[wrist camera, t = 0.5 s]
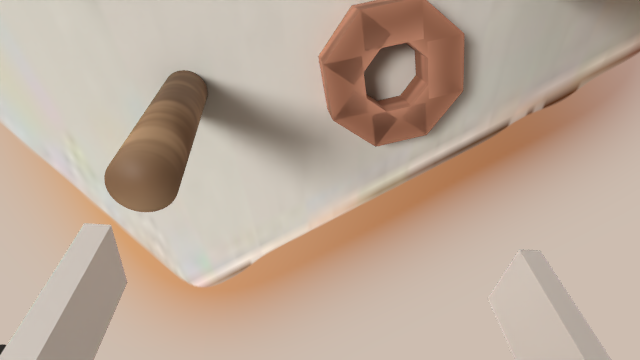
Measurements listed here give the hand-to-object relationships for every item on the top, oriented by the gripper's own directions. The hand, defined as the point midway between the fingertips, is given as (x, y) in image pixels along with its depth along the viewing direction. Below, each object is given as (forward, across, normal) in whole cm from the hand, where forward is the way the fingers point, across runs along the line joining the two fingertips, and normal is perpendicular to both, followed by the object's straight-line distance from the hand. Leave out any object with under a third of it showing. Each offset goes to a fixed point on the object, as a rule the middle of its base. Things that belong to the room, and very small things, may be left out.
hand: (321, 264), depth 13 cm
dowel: (+23, -10, -6) cm, 26 cm away
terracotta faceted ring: (+26, +8, -3) cm, 27 cm away
